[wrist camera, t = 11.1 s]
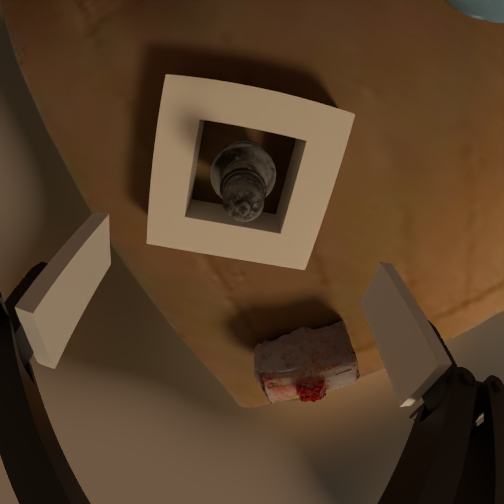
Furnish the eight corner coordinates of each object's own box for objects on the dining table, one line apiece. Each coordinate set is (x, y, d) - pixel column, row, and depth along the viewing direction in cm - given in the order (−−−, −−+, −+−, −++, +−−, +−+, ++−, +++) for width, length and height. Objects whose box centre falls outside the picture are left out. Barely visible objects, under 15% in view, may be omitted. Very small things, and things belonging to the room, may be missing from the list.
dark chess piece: (265, 198, 31) (276, 260, 21) (209, 187, 30) (191, 245, 20) (278, 144, 28) (300, 179, 18) (219, 132, 27) (204, 160, 17)
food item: (265, 366, 45) (269, 419, 37) (249, 335, 42) (251, 393, 33) (349, 344, 44) (365, 395, 35) (343, 309, 40) (364, 364, 31)
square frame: (177, 76, 24) (165, 74, 20) (339, 109, 26) (355, 114, 22) (157, 223, 32) (146, 243, 28) (297, 247, 34) (304, 270, 30)
